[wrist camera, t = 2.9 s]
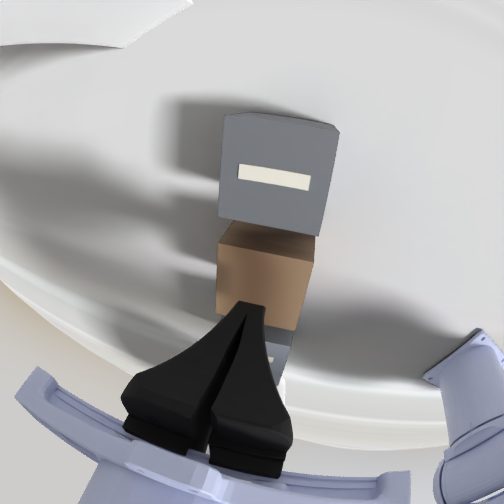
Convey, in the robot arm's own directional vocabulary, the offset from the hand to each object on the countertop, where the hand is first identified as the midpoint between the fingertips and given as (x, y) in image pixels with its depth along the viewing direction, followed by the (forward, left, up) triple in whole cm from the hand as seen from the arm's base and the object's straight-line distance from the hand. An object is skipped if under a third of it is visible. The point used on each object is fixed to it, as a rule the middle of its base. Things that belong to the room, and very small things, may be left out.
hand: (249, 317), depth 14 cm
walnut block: (0, 0, -7) cm, 7 cm away
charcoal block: (+3, -6, -7) cm, 10 cm away
